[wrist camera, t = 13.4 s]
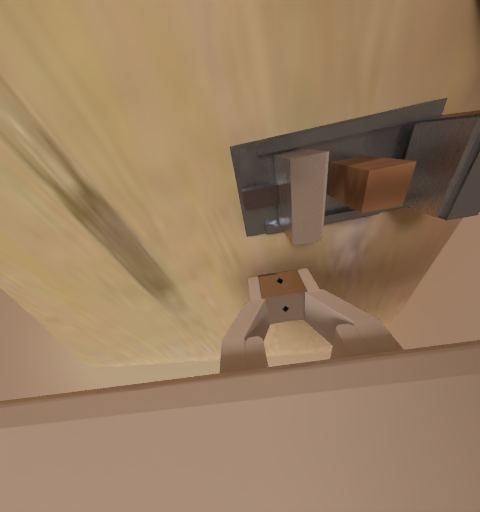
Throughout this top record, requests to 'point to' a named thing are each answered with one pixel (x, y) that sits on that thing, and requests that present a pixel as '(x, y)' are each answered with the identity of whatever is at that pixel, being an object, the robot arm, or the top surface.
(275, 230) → the vise
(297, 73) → the top surface
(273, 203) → the jaw
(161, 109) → the top surface
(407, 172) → the block
